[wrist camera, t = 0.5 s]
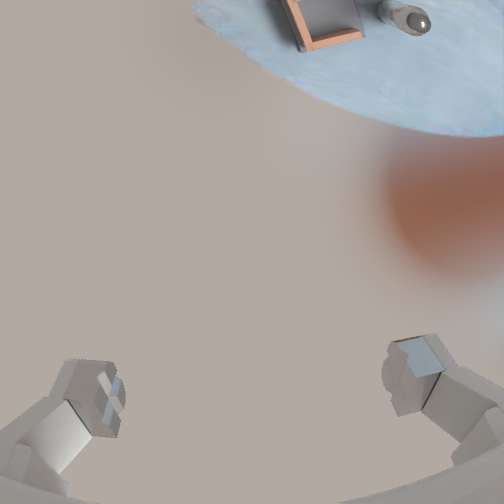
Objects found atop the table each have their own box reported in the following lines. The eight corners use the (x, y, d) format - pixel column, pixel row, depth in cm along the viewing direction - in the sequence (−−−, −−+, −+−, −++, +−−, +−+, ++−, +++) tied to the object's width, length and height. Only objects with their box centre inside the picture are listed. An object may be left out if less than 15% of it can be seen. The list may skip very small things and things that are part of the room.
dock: (276, -7, 37) (278, -7, 34) (344, -24, 34) (351, -24, 31) (301, 52, 44) (304, 57, 42) (364, 36, 41) (372, 41, 38)
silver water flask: (373, 2, 36) (402, 10, 28) (398, -2, 35) (432, 7, 27) (381, 26, 39) (410, 40, 31) (405, 22, 38) (439, 37, 30)
